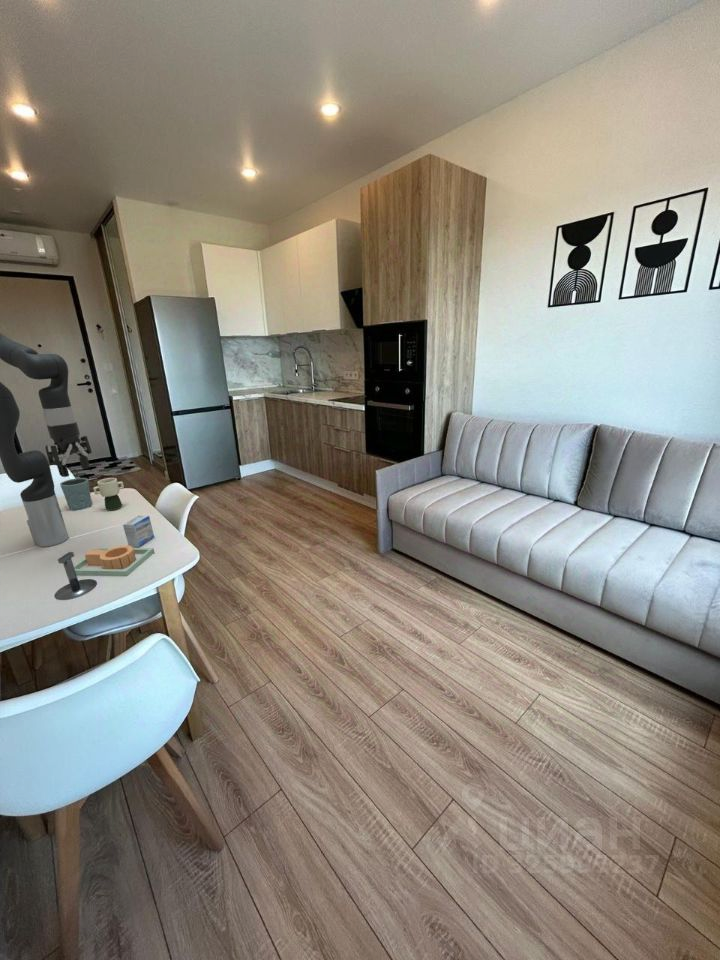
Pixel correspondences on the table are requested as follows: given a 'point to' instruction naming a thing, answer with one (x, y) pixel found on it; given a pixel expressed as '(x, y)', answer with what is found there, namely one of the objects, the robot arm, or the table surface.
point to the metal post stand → (73, 581)
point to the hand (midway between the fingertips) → (75, 472)
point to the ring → (112, 557)
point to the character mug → (110, 492)
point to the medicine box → (138, 531)
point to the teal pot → (77, 493)
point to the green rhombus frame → (114, 572)
